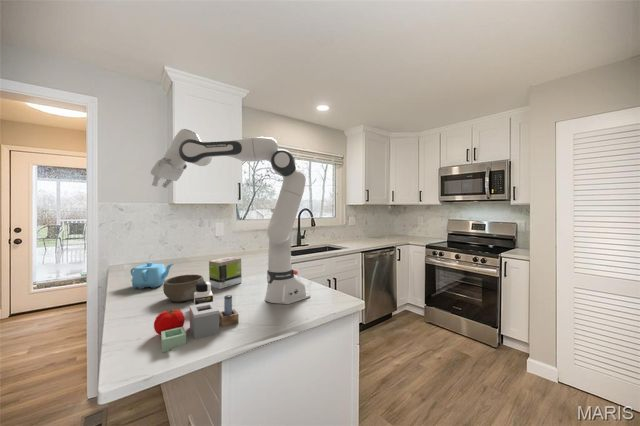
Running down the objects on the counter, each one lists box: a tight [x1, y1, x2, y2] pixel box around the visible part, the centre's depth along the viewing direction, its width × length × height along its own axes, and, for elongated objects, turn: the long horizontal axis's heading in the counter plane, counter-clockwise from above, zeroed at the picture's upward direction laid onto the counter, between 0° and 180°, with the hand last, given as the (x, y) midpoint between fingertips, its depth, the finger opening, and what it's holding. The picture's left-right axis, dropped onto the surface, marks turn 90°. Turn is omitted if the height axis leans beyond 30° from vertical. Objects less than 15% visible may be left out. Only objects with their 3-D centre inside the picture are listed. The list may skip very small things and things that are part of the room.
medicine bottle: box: [193, 280, 214, 305], centre depth 118 cm, size 7×7×12 cm
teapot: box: [129, 261, 174, 290], centre depth 151 cm, size 18×16×14 cm
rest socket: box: [160, 326, 187, 353], centre depth 88 cm, size 7×7×4 cm
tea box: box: [208, 256, 242, 290], centre depth 155 cm, size 15×10×15 cm
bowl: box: [162, 274, 205, 303], centre depth 131 cm, size 17×18×10 cm
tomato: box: [153, 308, 186, 337], centre depth 96 cm, size 9×10×8 cm
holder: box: [219, 308, 240, 328], centre depth 103 cm, size 6×6×4 cm
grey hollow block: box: [189, 301, 220, 340], centre depth 96 cm, size 8×10×9 cm
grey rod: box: [223, 294, 233, 316], centre depth 103 cm, size 3×3×10 cm
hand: (159, 186), depth 126 cm, fingers open, 8 cm apart
